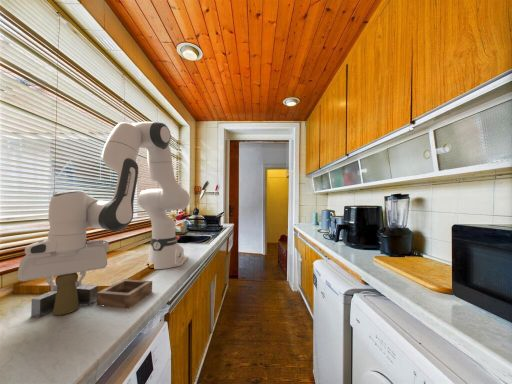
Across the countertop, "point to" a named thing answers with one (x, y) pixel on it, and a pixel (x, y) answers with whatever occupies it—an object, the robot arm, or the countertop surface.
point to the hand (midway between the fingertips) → (66, 288)
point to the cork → (66, 294)
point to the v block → (47, 300)
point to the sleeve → (118, 298)
